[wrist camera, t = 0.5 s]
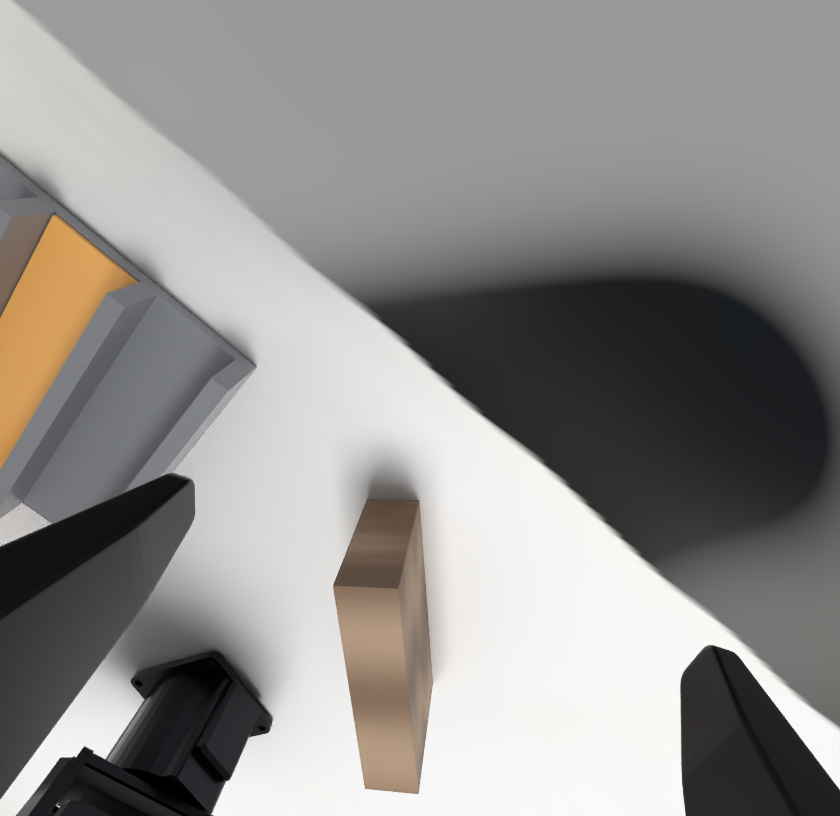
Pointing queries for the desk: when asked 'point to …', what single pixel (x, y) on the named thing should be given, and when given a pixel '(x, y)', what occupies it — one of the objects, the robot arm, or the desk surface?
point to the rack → (93, 363)
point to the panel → (387, 642)
